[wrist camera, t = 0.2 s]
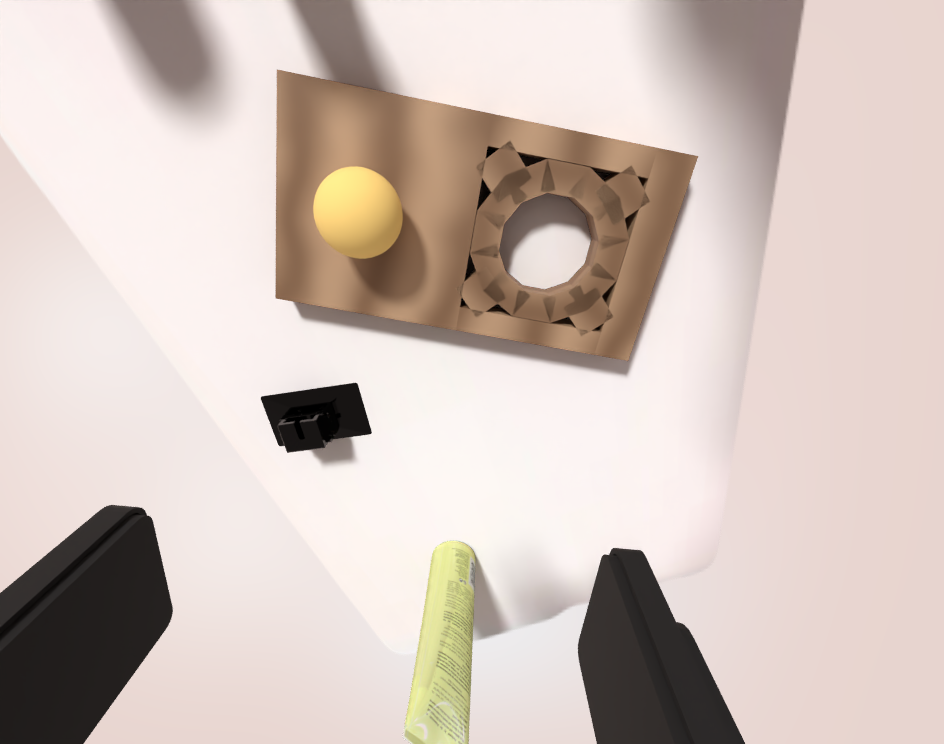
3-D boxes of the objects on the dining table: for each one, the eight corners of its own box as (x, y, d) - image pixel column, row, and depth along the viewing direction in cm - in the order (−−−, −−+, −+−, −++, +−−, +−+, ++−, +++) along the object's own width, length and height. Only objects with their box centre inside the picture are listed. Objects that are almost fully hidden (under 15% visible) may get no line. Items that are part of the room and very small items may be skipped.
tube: (422, 567, 50) (391, 779, 32) (431, 533, 48) (402, 739, 30) (470, 576, 50) (466, 790, 32) (480, 543, 48) (482, 751, 30)
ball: (331, 161, 32) (300, 154, 26) (413, 177, 32) (399, 174, 26) (327, 245, 34) (297, 255, 28) (403, 259, 34) (389, 272, 29)
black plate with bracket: (370, 371, 41) (358, 392, 37) (388, 437, 44) (378, 463, 40) (246, 389, 42) (220, 411, 38) (271, 452, 45) (249, 479, 41)
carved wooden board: (288, 291, 38) (275, 298, 36) (291, 78, 32) (277, 69, 29) (619, 351, 39) (628, 360, 37) (683, 158, 33) (698, 156, 31)
